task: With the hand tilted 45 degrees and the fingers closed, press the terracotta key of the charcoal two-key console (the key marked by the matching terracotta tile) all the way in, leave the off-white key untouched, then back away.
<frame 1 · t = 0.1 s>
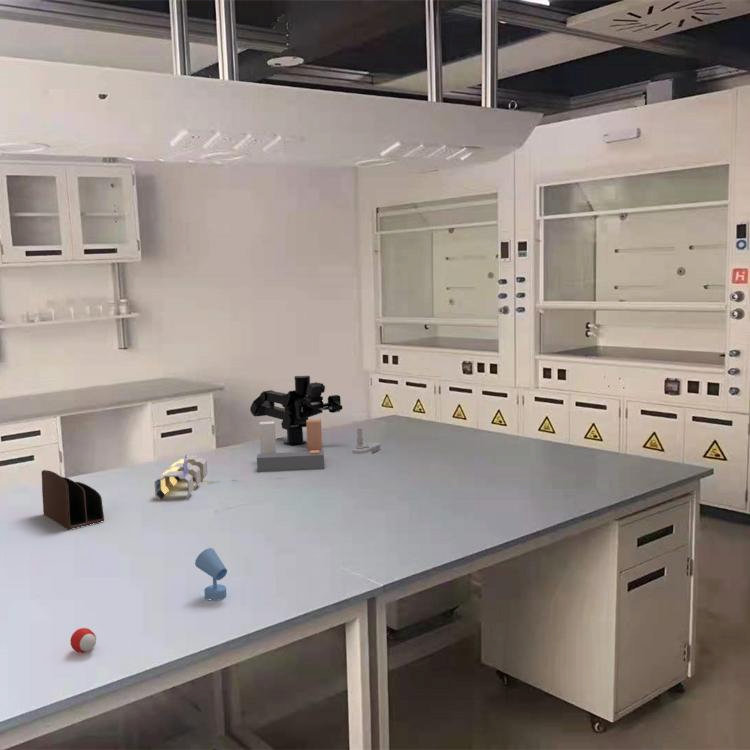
hand: (331, 409, 287), 17 cm above the table, tool horizontal, fingers open, 9 cm apart
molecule: (86, 652, 145), on the table
key 1: (267, 442, 273), point 8 cm above the table, slide at 0.0 cm
electronic device: (366, 453, 290), on the table
spotlight: (214, 596, 168), on the table
console: (292, 465, 275), on the table
letter holder: (73, 519, 224), on the table
key 2: (314, 440, 275), point 8 cm above the table, slide at 0.0 cm
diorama: (183, 489, 251), on the table
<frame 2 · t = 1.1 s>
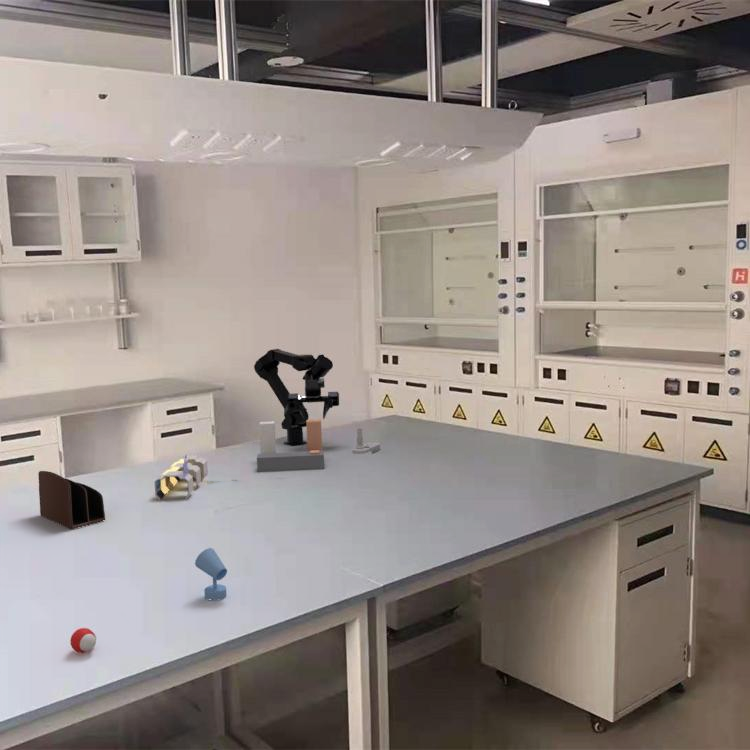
hand: (314, 418, 285), 14 cm above the table, tool tilted 45°, fingers open, 7 cm apart
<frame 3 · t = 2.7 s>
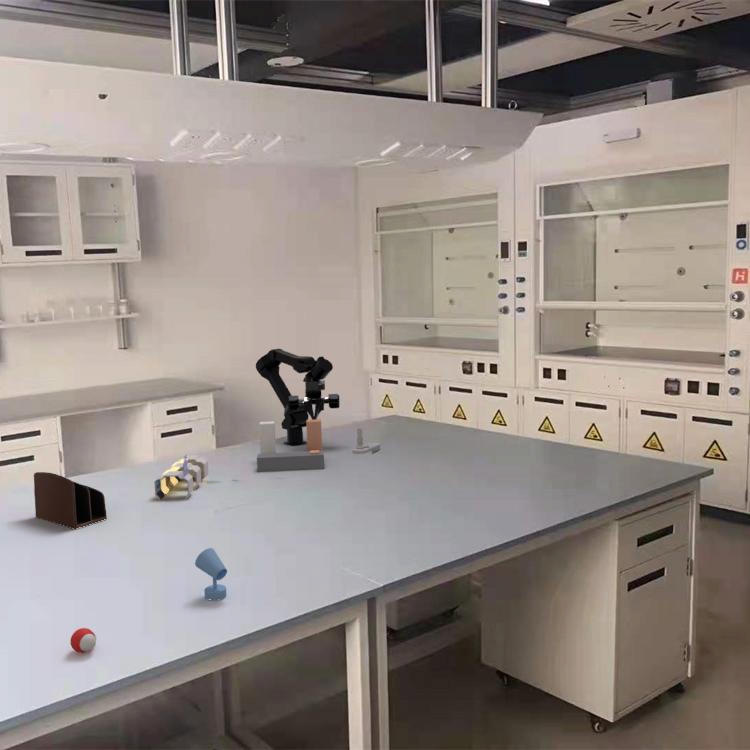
hand: (314, 421, 285), 13 cm above the table, tool tilted 45°, fingers closed
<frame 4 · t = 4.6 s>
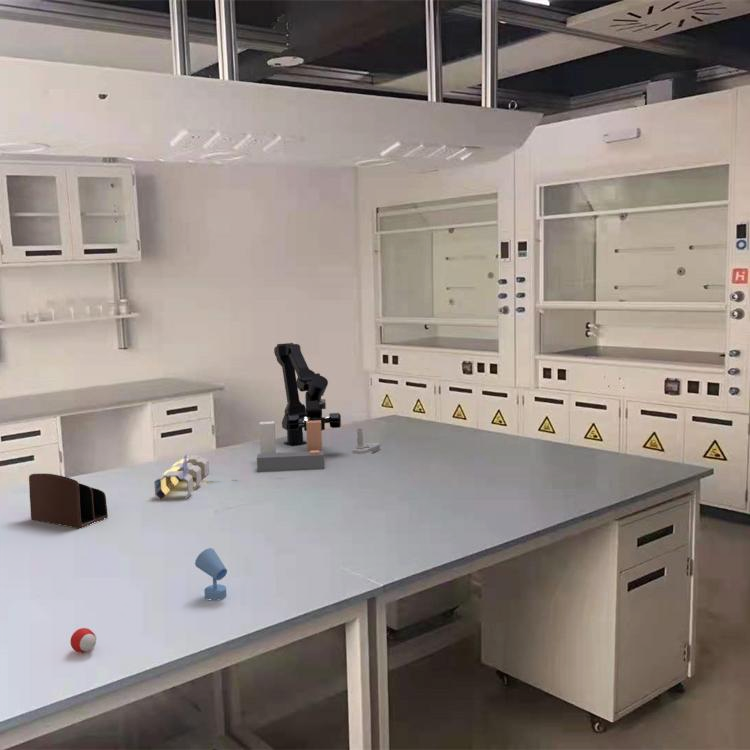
hand: (314, 441, 275), 8 cm above the table, tool tilted 45°, fingers closed, pressing on key 2
key 2: (314, 441, 273), point 8 cm above the table, slide at 1.7 cm, touching gripper
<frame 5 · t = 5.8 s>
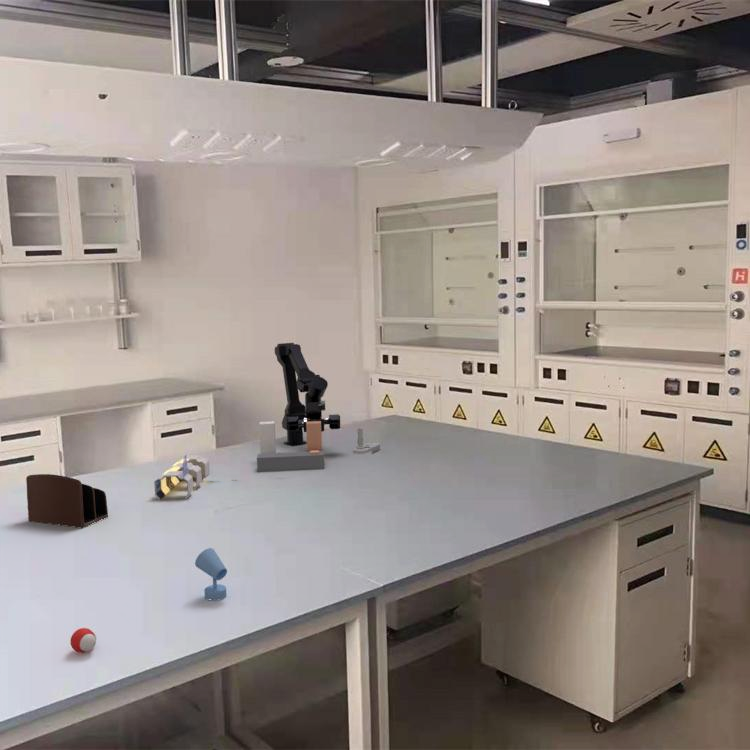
hand: (314, 443, 275), 7 cm above the table, tool tilted 45°, fingers closed
key 2: (314, 442, 271), point 8 cm above the table, slide at 3.2 cm
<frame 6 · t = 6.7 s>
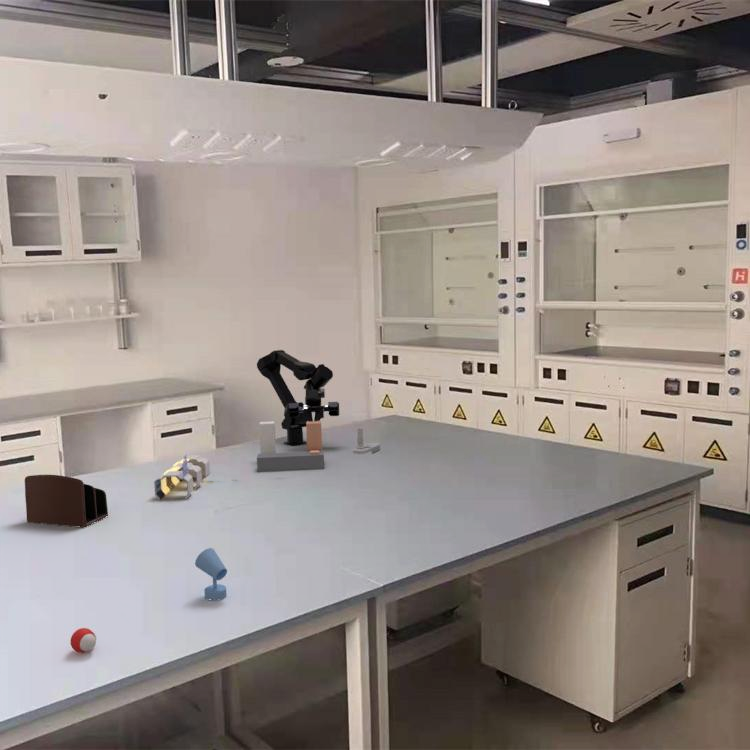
hand: (313, 429, 285), 10 cm above the table, tool tilted 45°, fingers closed
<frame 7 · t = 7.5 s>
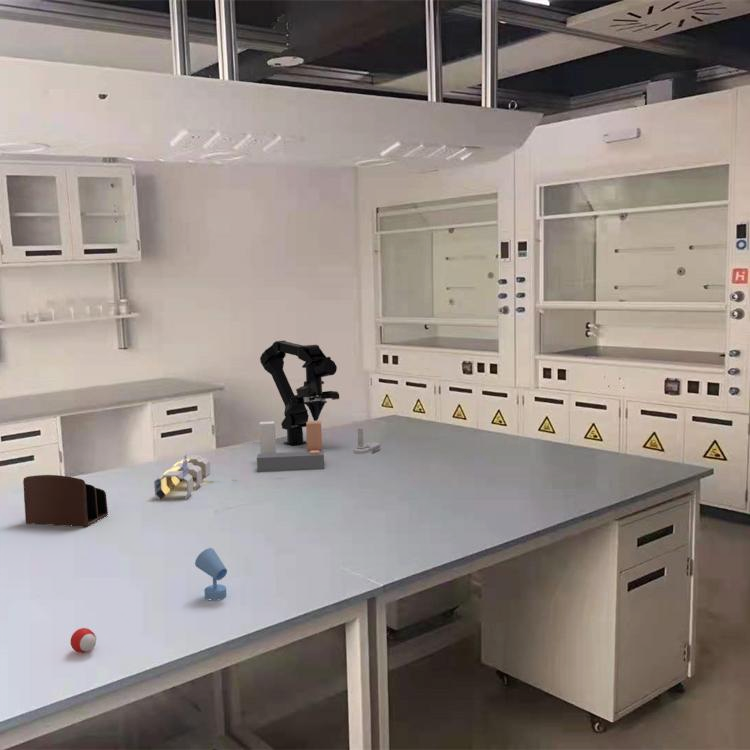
hand: (315, 420, 293), 12 cm above the table, tool tilted 15°, fingers closed
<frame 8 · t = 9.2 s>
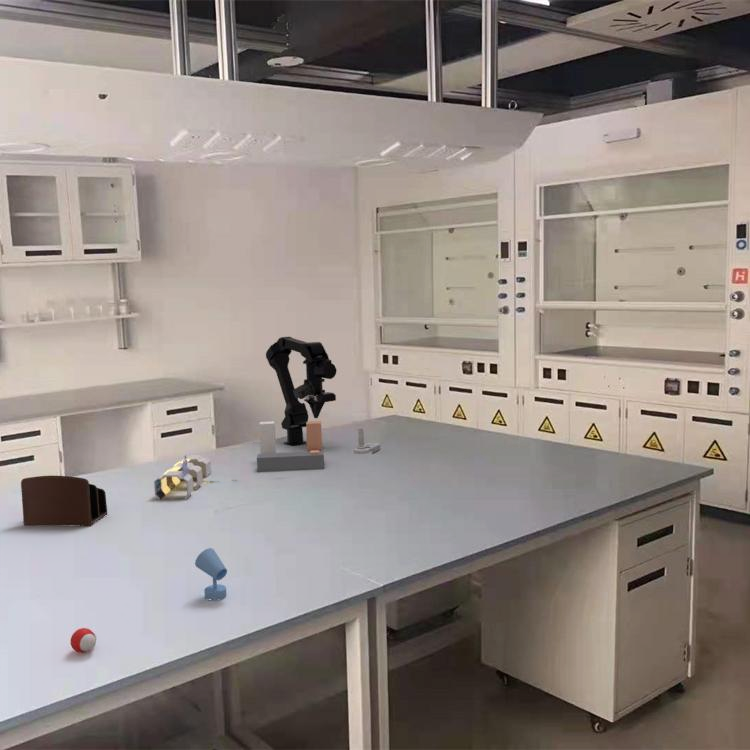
hand: (316, 418, 295), 12 cm above the table, tool pointing down, fingers closed
at the end: key 2 slide at 3.2 cm; key 1 slide at 0.0 cm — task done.
